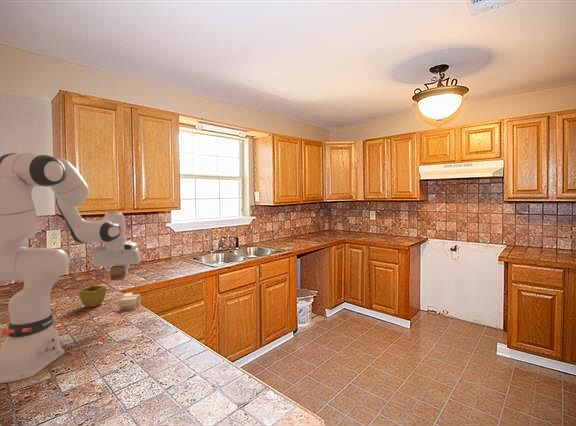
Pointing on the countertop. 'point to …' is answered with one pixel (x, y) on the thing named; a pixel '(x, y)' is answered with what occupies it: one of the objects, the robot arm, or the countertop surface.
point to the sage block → (127, 294)
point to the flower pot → (92, 295)
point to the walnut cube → (117, 272)
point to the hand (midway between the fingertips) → (118, 274)
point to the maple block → (130, 301)
